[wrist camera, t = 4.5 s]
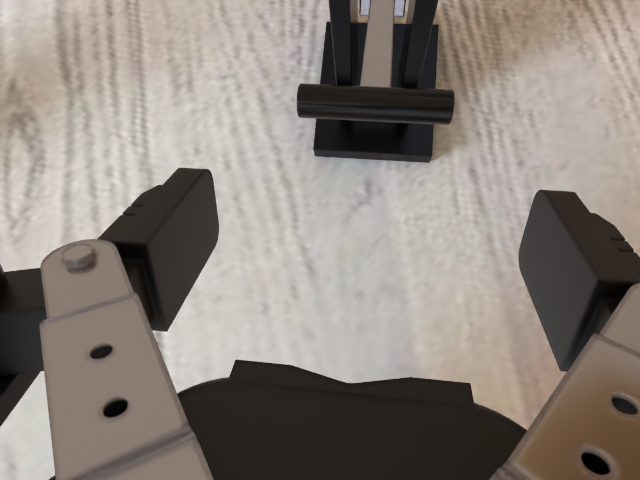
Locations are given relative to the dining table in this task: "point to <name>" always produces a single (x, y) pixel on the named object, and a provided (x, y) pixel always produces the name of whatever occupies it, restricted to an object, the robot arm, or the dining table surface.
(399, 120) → the lever with crossbar handle
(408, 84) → the black lever stand
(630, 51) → the dining table surface
